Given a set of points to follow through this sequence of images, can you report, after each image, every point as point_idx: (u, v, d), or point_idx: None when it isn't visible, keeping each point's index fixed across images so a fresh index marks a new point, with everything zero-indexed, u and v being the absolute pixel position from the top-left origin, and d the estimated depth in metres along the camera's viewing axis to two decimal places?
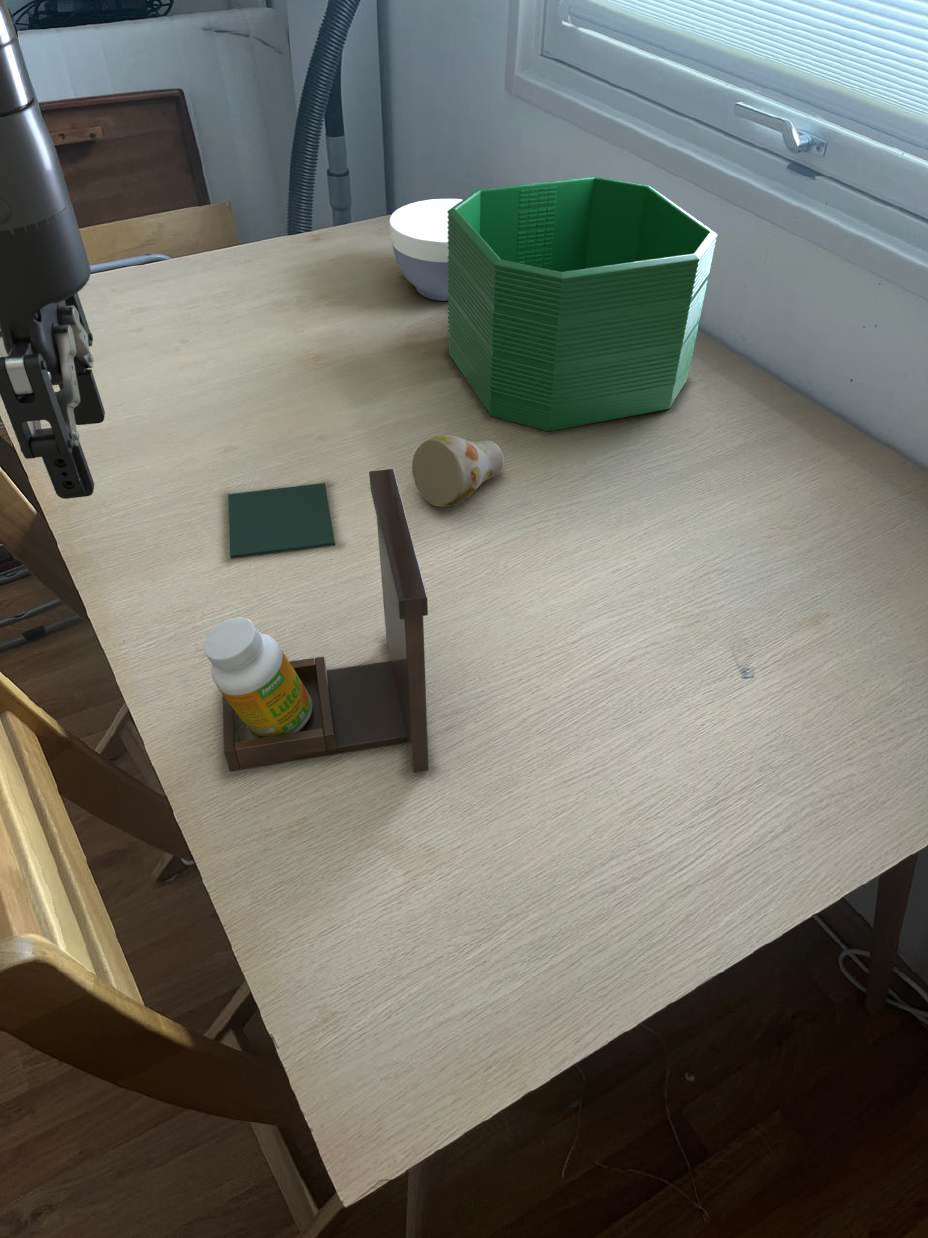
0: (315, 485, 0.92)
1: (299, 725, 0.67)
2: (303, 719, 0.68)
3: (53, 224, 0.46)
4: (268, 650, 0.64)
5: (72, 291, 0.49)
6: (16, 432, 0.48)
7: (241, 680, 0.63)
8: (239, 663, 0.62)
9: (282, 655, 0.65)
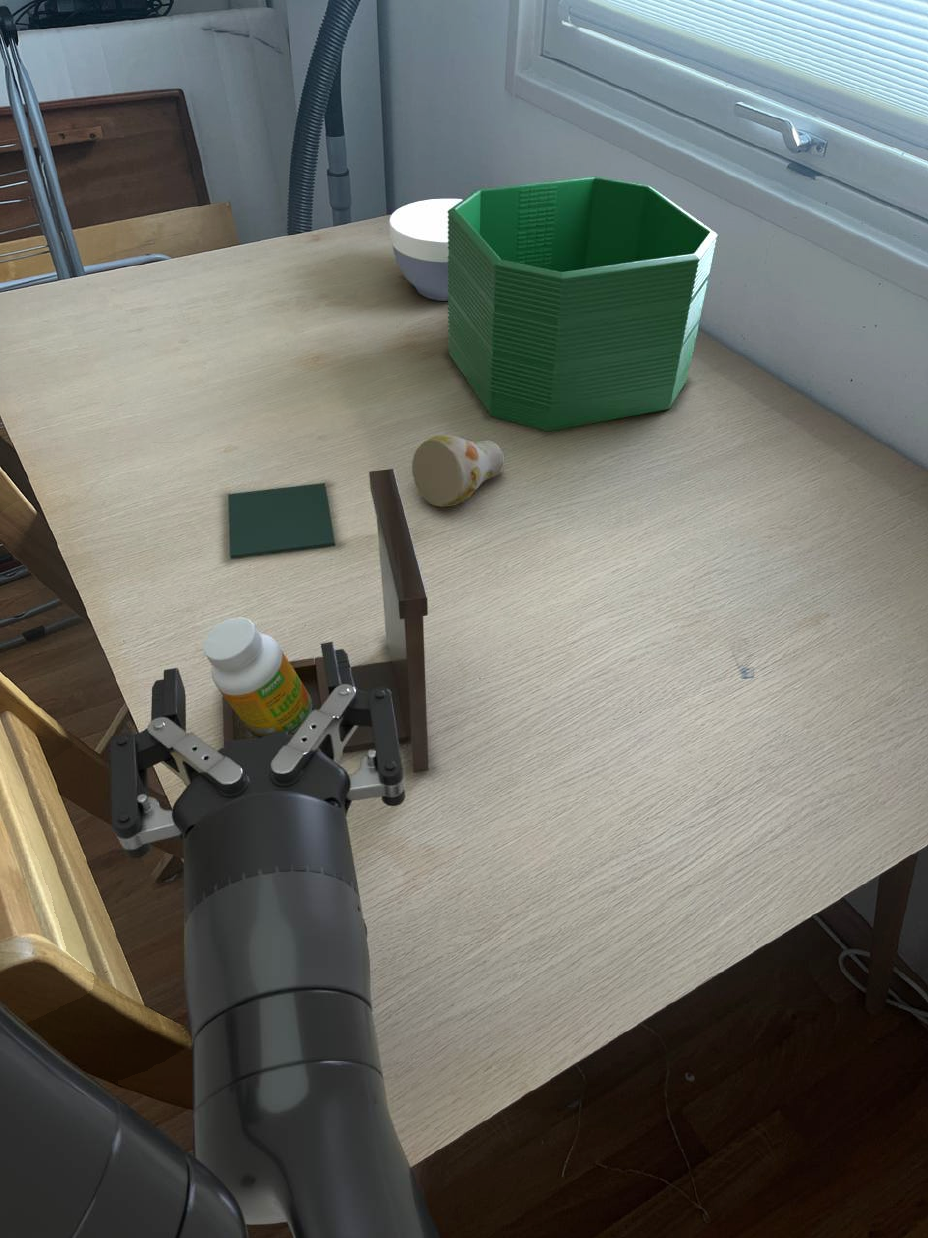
0: (315, 485, 0.92)
1: (299, 725, 0.67)
2: (303, 719, 0.68)
3: None
4: (268, 650, 0.64)
5: None
6: (110, 766, 0.43)
7: (241, 680, 0.63)
8: (239, 663, 0.62)
9: (282, 655, 0.65)
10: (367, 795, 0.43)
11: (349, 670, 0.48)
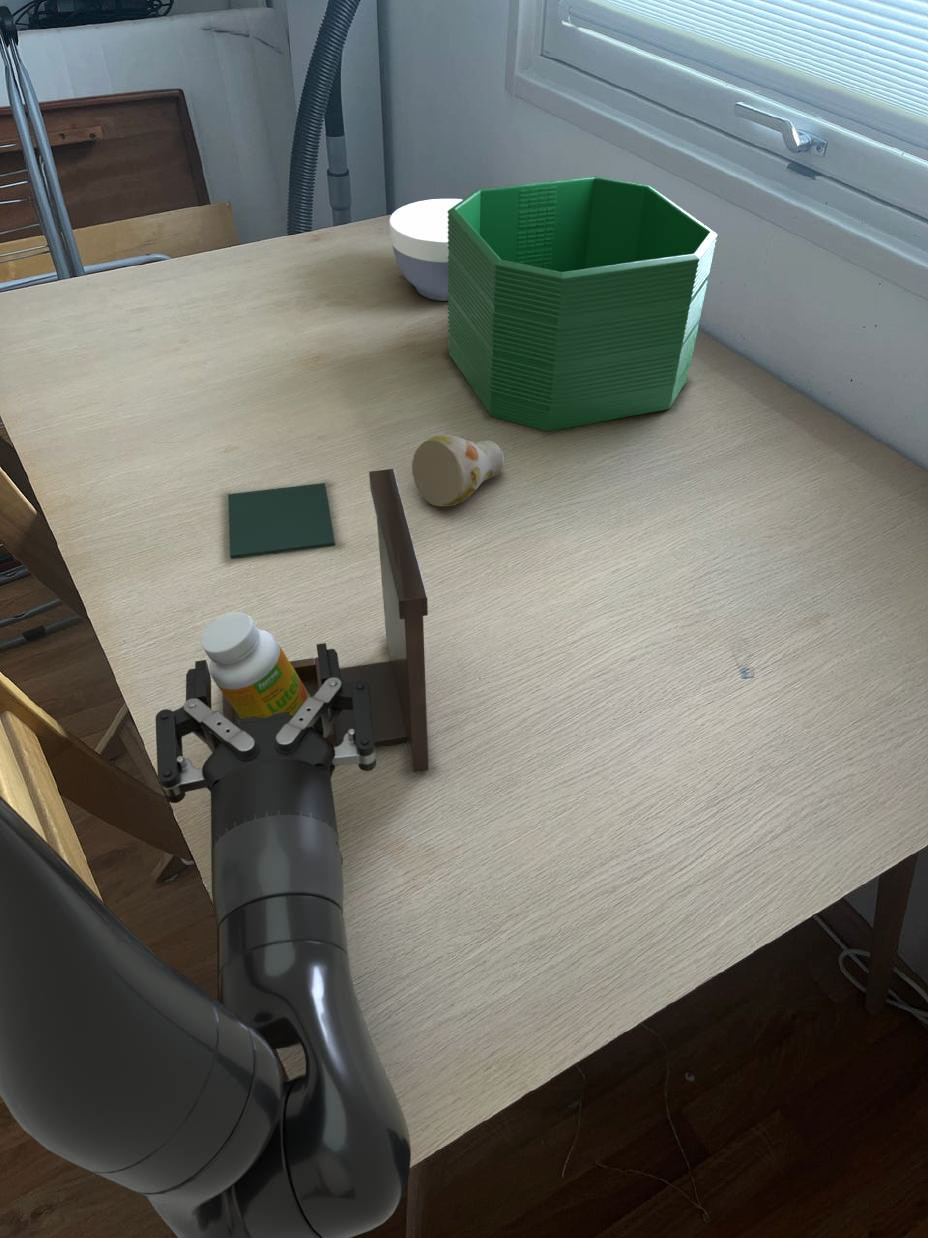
0: (315, 485, 0.92)
1: None
2: None
3: None
4: (265, 644, 0.64)
5: None
6: (156, 734, 0.57)
7: (238, 674, 0.63)
8: (235, 656, 0.62)
9: (279, 650, 0.65)
10: (347, 762, 0.58)
11: (338, 666, 0.62)
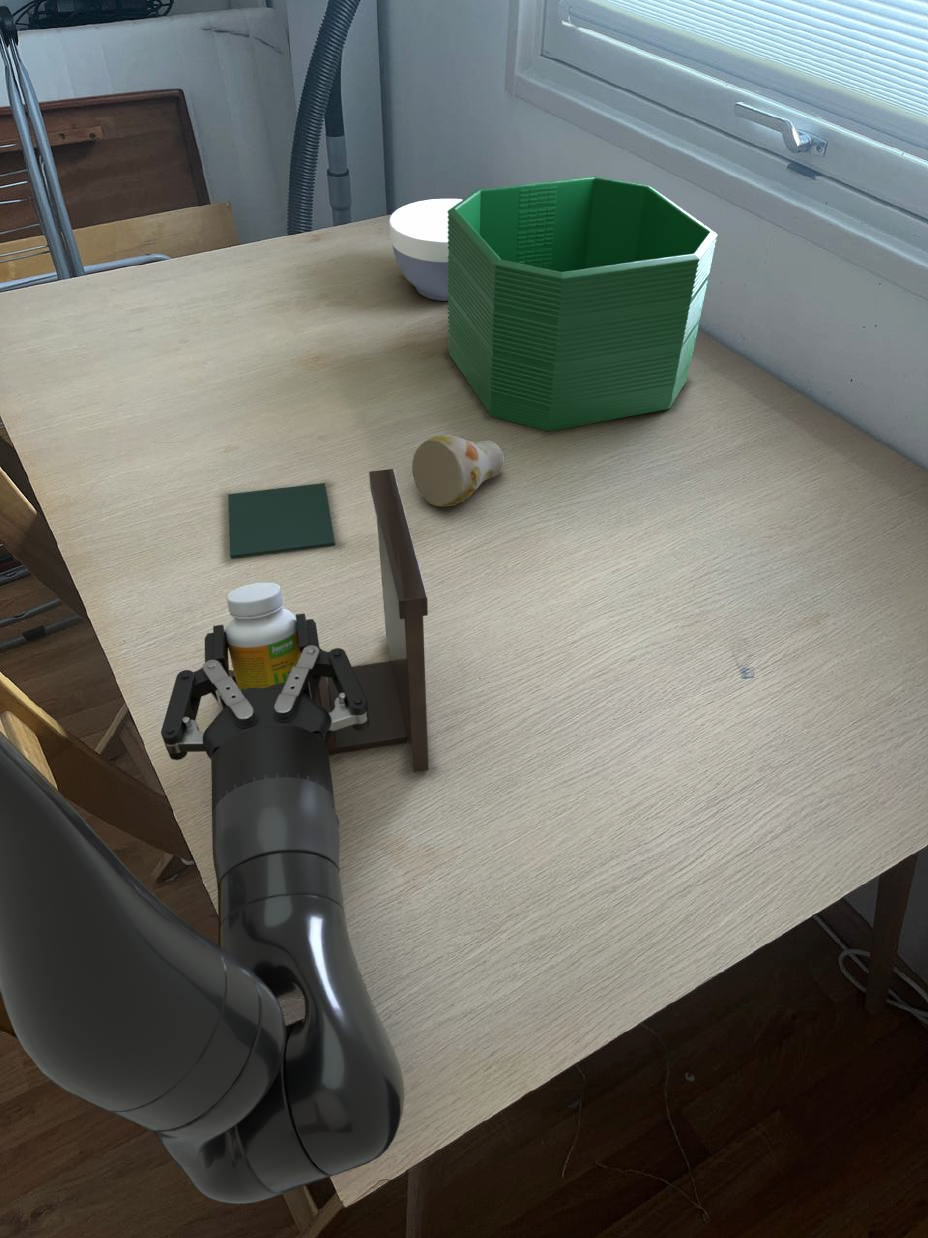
0: (315, 485, 0.92)
1: None
2: None
3: None
4: (287, 615, 0.66)
5: None
6: (172, 691, 0.60)
7: (255, 631, 0.64)
8: (259, 612, 0.64)
9: None
10: (344, 725, 0.60)
11: (316, 635, 0.64)
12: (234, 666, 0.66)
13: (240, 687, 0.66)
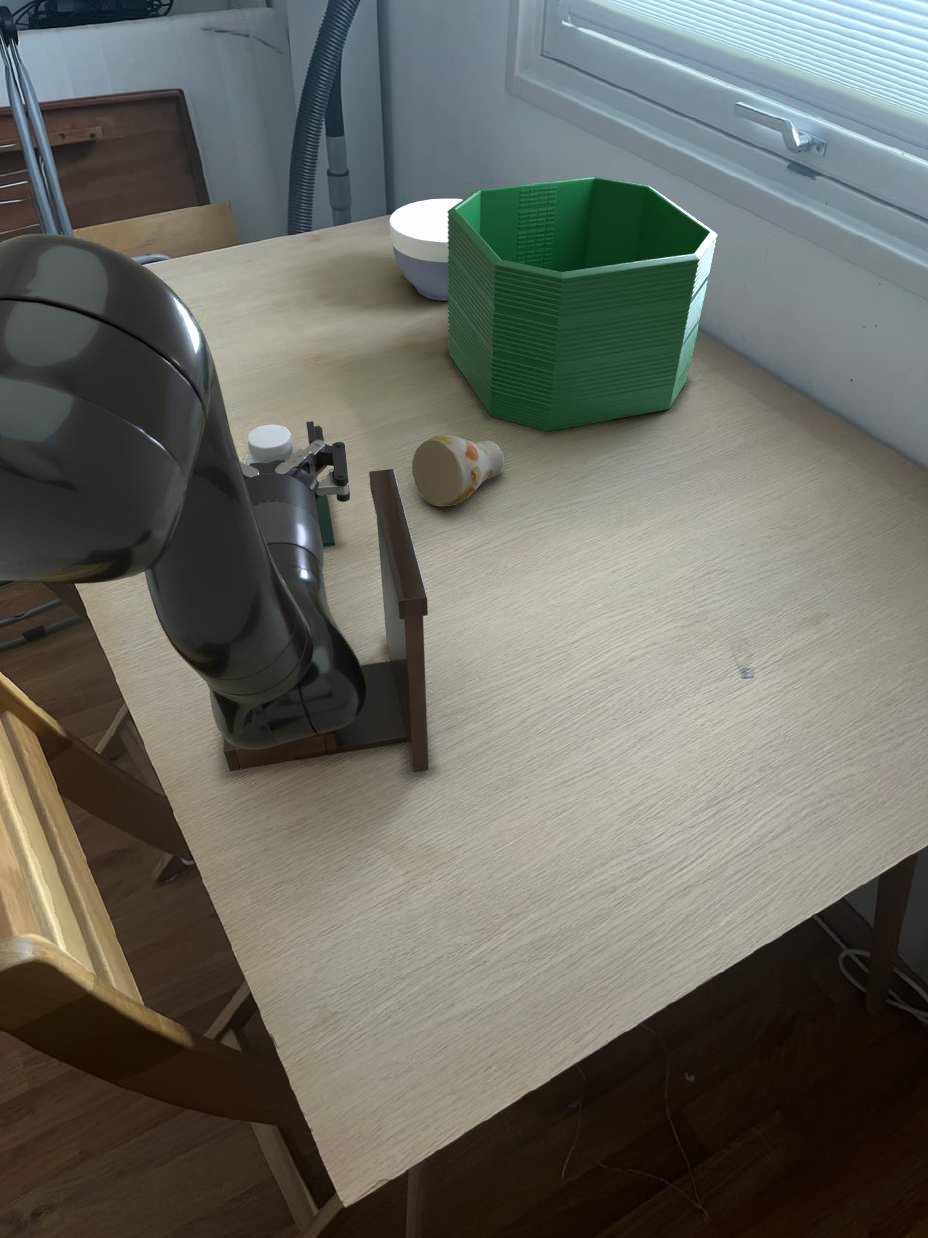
0: None
1: None
2: None
3: None
4: None
5: None
6: None
7: None
8: (274, 455, 0.80)
9: None
10: (328, 492, 0.77)
11: (322, 435, 0.82)
12: None
13: None
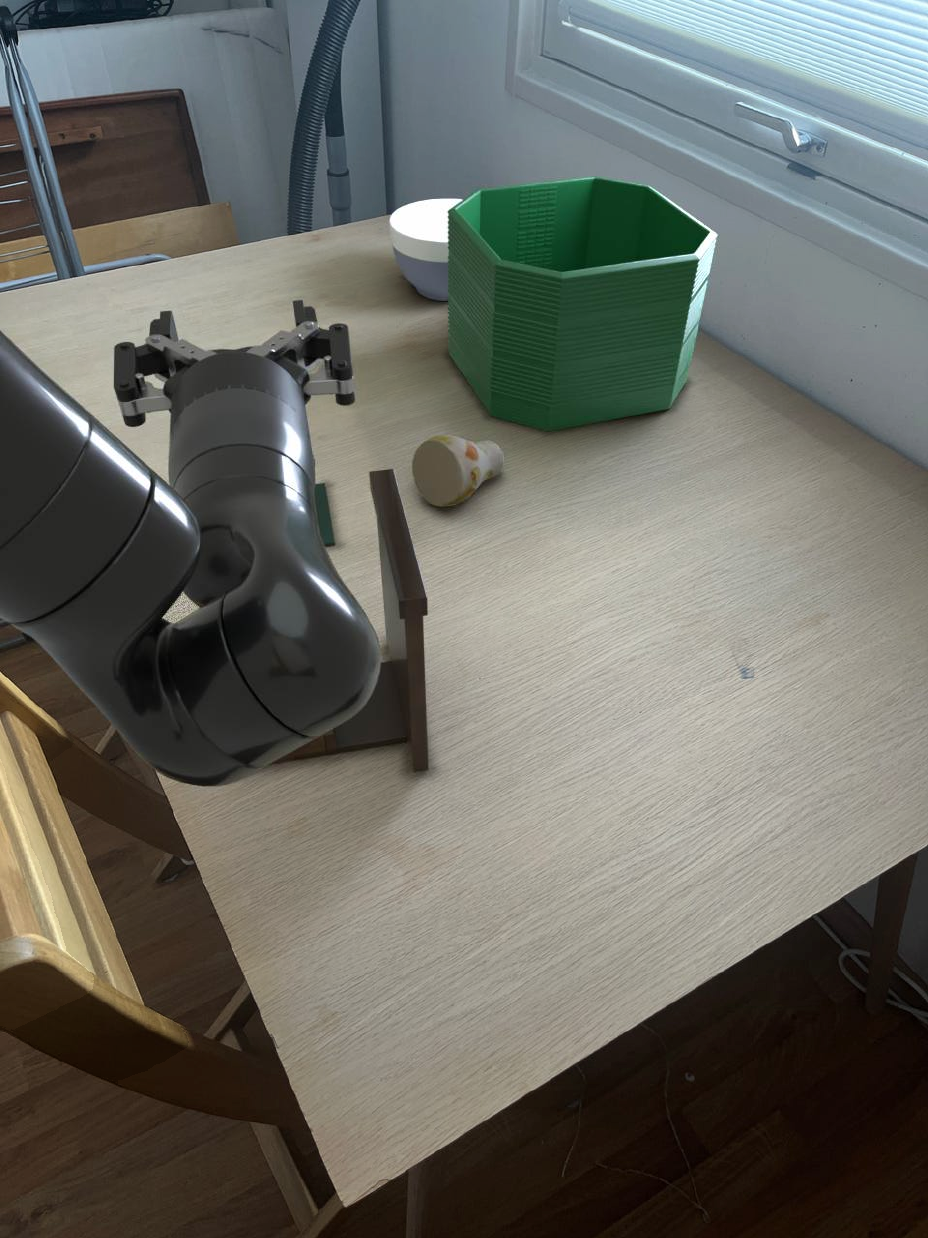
0: (315, 485, 0.92)
1: None
2: None
3: None
4: None
5: None
6: (114, 359, 0.53)
7: None
8: None
9: None
10: (323, 390, 0.53)
11: (315, 317, 0.57)
12: None
13: None
